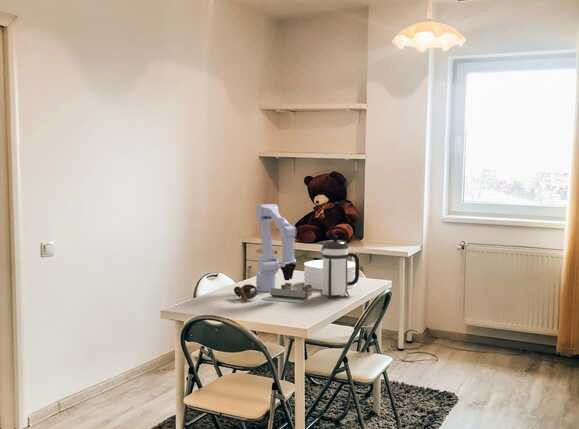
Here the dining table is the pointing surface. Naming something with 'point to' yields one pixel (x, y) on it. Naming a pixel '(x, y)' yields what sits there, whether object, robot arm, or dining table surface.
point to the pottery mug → (245, 292)
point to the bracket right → (307, 289)
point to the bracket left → (286, 286)
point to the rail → (289, 293)
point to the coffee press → (337, 267)
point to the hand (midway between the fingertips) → (288, 279)
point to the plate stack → (316, 274)
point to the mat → (284, 299)
